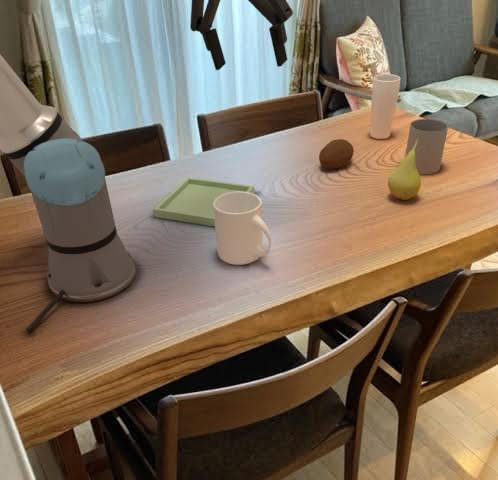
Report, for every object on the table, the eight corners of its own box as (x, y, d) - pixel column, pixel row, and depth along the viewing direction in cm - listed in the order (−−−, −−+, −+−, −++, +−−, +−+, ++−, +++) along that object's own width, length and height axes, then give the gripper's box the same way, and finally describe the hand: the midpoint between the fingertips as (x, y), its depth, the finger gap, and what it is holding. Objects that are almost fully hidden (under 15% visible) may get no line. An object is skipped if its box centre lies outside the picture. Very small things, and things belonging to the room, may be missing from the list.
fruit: (381, 200, 117) (389, 146, 109) (393, 187, 122) (401, 134, 114) (412, 207, 114) (421, 152, 106) (422, 193, 119) (432, 139, 111)
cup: (413, 157, 134) (420, 116, 127) (445, 165, 130) (454, 123, 123) (397, 168, 129) (403, 127, 123) (430, 177, 125) (438, 134, 118)
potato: (311, 168, 131) (312, 142, 127) (337, 156, 136) (339, 131, 132) (332, 175, 127) (333, 150, 123) (358, 163, 132) (360, 138, 128)
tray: (226, 228, 110) (225, 220, 108) (154, 216, 114) (153, 209, 113) (254, 193, 121) (254, 185, 120) (188, 184, 126) (187, 176, 125)
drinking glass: (396, 134, 146) (404, 75, 136) (387, 142, 142) (395, 82, 132) (372, 130, 149) (379, 72, 139) (363, 138, 144) (369, 79, 135)
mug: (254, 278, 96) (252, 225, 89) (207, 255, 102) (203, 203, 95) (285, 258, 100) (286, 206, 93) (239, 237, 107) (236, 187, 100)
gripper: (295, -91, 82) (319, 51, 96) (169, -63, 94) (207, 59, 109) (274, -75, 78) (301, 71, 93) (144, -48, 90) (187, 77, 105)
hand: (250, 65), depth 101 cm, fingers open, 13 cm apart
